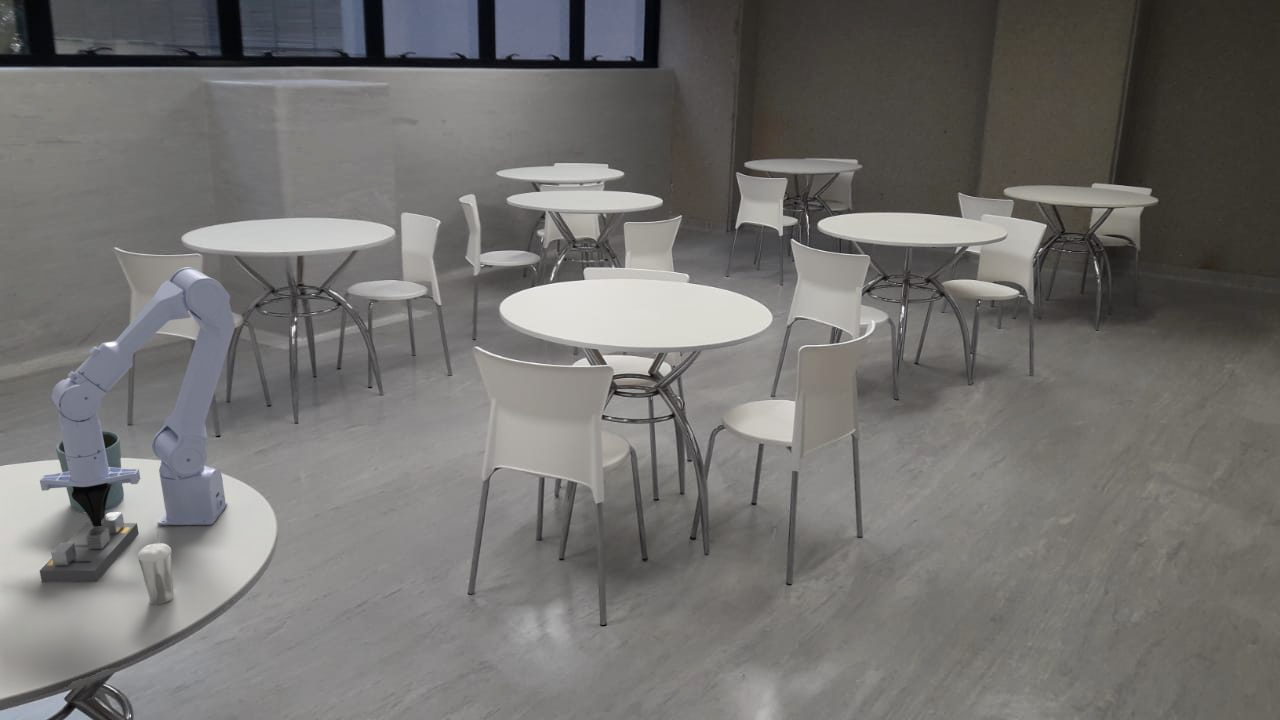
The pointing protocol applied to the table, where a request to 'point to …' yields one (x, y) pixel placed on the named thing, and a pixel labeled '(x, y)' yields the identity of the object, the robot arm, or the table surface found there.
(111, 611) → the table surface
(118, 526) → the knob
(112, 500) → the teal plant pot
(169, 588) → the milkshake
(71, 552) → the knob
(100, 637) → the table surface
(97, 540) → the knob
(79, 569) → the switch panel
